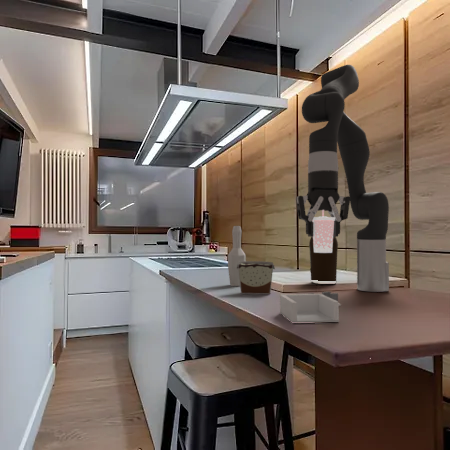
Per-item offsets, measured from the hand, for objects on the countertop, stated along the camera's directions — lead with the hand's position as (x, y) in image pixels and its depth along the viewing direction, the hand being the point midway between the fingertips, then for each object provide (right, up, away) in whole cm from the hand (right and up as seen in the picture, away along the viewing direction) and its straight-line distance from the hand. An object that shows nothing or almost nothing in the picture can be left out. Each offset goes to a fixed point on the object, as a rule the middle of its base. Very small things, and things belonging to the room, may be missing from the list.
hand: (322, 236), depth 96 cm
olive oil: (+13, -20, +48) cm, 53 cm away
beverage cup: (0, -4, 0) cm, 4 cm away
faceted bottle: (-21, -20, +42) cm, 51 cm away
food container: (-15, -19, +27) cm, 36 cm away
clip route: (0, -19, +2) cm, 19 cm away
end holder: (-6, -19, -10) cm, 22 cm away
